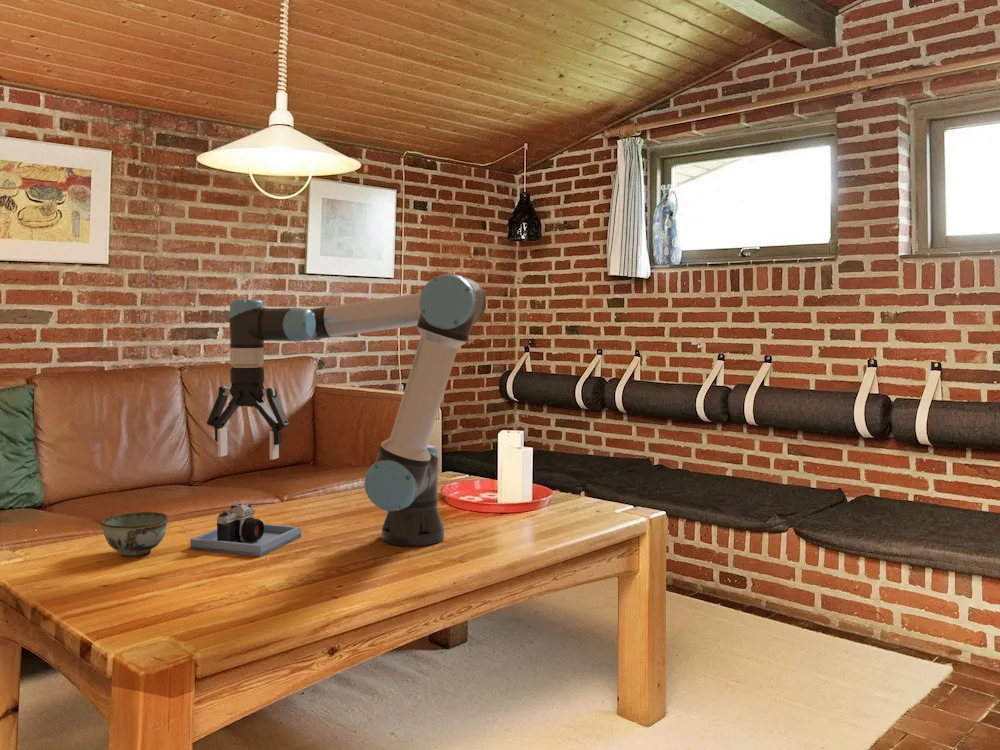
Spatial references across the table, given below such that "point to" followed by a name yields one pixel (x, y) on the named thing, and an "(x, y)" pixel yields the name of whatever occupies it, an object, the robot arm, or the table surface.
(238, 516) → the camera
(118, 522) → the bowl
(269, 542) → the tray
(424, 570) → the table surface
